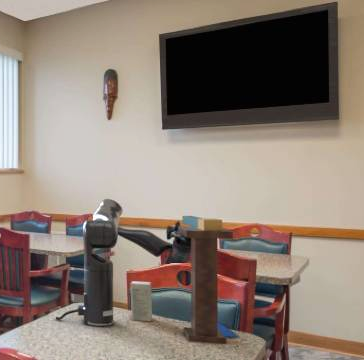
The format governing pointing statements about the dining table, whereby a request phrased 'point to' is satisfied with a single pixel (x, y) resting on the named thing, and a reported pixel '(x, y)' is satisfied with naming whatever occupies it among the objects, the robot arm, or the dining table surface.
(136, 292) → the cosmetic box
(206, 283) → the shelf stand
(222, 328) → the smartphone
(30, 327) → the dining table surface
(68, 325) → the dining table surface
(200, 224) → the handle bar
